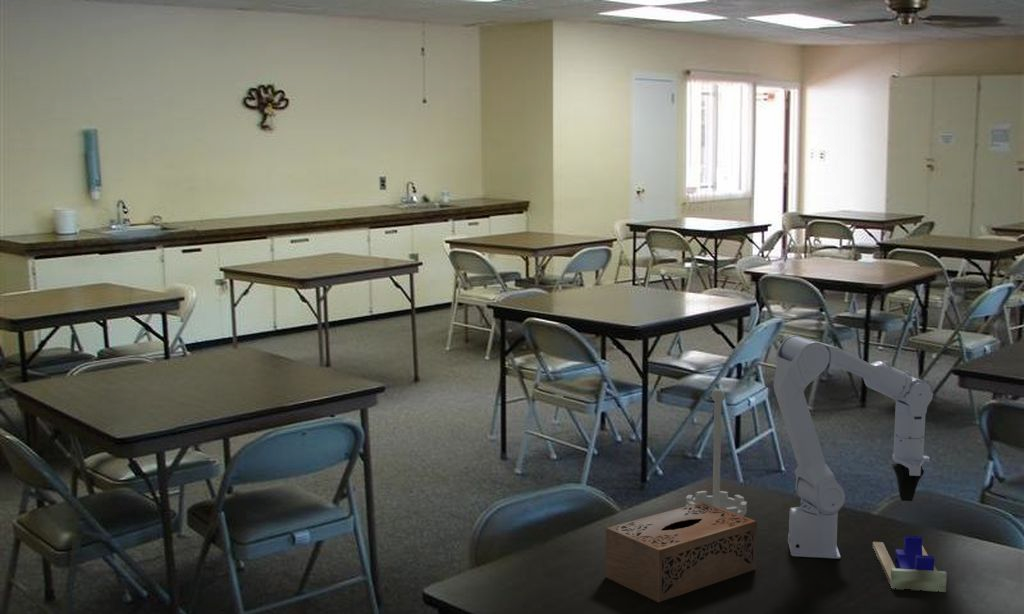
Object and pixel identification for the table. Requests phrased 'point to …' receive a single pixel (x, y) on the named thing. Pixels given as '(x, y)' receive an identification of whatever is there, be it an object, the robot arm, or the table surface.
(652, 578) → the tissue box cover
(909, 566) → the blue stepped block
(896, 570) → the channel
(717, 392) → the flag stand
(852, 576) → the table surface
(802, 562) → the table surface
